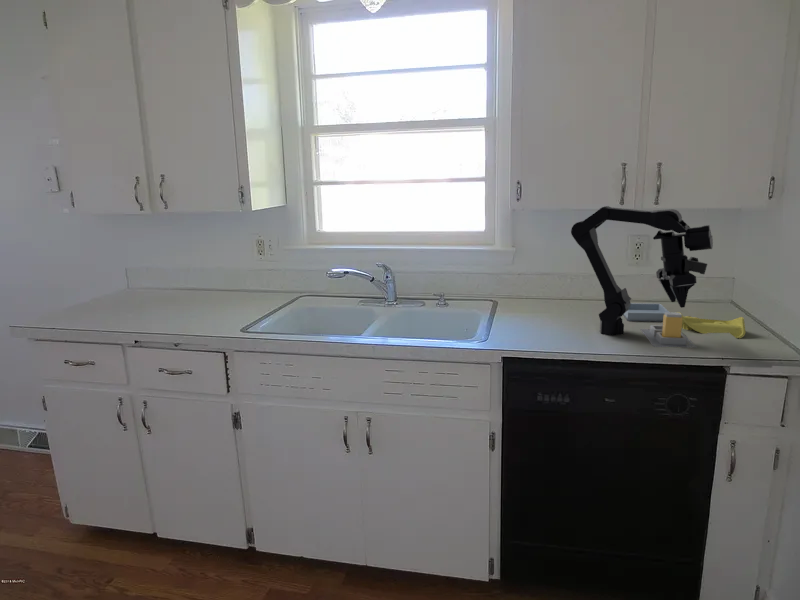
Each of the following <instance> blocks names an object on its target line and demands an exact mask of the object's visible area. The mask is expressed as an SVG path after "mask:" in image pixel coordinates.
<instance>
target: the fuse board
mask: <svg viewBox="0 0 800 600" xmlns="http://www.w3.org/2000/svg"><path fill="white" fill-rule="evenodd" d="M662 328H663V324H662V325H661V324H660V325H659V324H658V325H657V324H656V325H655V324H650V325H649V328H639V329H640V331H641V332H642V333H643V334H644V336H645V337H646V338H647V340H648V341H649V342H650V344H651V345H652V347H661V348H662V347H663V348H666V347H667V348H689V349H690V348H691V349H692V348H694V349H696V348H698V347H697V345H696V344H695V343H694V342H692V340H690V338H689V337H688V336H686V335H685V333H683V332H682V331H681V338H675V337H662Z"/></svg>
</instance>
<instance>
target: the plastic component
mask: <svg viewBox="0 0 800 600" xmlns="http://www.w3.org/2000/svg"><path fill="white" fill-rule="evenodd" d="M676 313H680V314H681V315H682V329H683V330H687V331H695V332H697V333H700V334H703V335H704V334H706V335H707V334H711V333H712V334H730V335H731V336H732V337H734V338H735V339H737V338H739V339H742V338H743V337H745V335H746V324H745V318H744V316H740V317H737V318H734V319H731V320H723V319H722V320H721V319H710V318H709V319H708V318H699V317H694V316H690V315H688V316H686V315H685V316H684V315H683V314H682V313H681V312H680V311H676Z"/></svg>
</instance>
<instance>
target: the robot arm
mask: <svg viewBox="0 0 800 600" xmlns="http://www.w3.org/2000/svg"><path fill="white" fill-rule="evenodd" d="M607 221H613V222H615V221H616V222H622V223H623V222H625V223H633V224H641V225H643V224H644V225H646V226H650V227H652V228H654V229H659V230H658V231H657V233H656V234H655V235H654V236H653V237H652V239H653V240H660V243H661V254H662V256H660V261H662V263H663V264H662V265H663V268H662V267H661V268H659V269H657V271H656V273H655V274H656V279H658V282H659V283H660V285H661V287H662V289H663V290H664V292H665V294H666V295H667V297H668V298H669V300H670V302H671V303H675V302H677V303H678V305H679V307H680V308H685V307H686V303H687V298H688V293H689V290H690V289H691V288H692V287H695V285H696V284H697V276H696V275H695V274H693V273H697V274H698V273H699V274H700V275H705V273H706V270H707V266H708V263H705V262H702V261H699V259H698V257H695V256H690V257H689V258H688V256H687V255H686V254H685V251H684V247H685V249H689V251H690V252H694V251H704V250H705V251H706V250H713V246H714V245H713V243H714V241H713V240H714V239H713V235H712V230H711V226H710V224H707V225H703V226H697V227H696V226H695V227H691V226H689V225H688V223H687V222H686V221H684V220H683V217H682V214H681V213H680V211H679V210H677V209H674V208H671V209H670V208H669V209H657V210H643V209H631V208H620V207H611V206H609V205H607V206H601V207H599V208H598V210H597V211H595V212H594V213H593V214H591V215H589V216H588V217H586V218H585V219H584V220H581V221H578V222H575V223H574V224H573V226H572V227H571V229H570V234H571V237H573V239H574V240H575V242H576V243H577V244H578V246H579V247H580V248H581V249H582V250H583V251H584V252H585V254H586V257H587V259H588V261H589V263H590V265H591V267H592V269H593V271H594V274H595V276H596V278H597V280H598V282H599V284H600V286H601V289H602V291H603V299H604V304H605V309H603V310H602V311H601V312H599V313H598V316H599V317H598V318H599V333H600V334H601V335H604V336H605V335H606V336H620V335H624V333H625V332H624V331H625V329H624V328H625V323H624V322H623V318H622V317H623V314H624V313H625V312H627V311H628V310H629V308H630V306H631V303H632V302H631V300H632V298H631V297H630V295H629V294H628V290H627V288H626V287H624V288H623V289H622V288H620V286H618V284H617V282H616V280H615V278H614V276H613V273H612V271H611V269H610V266H609V265H608V262H607V261H606V257H604V254H603V251H602V250H601V248H600V246H599V237H598V233H597V229H598V228H599V227H601V225H603V224H604V223H605V222H607ZM662 230H663V231H666V232H663V231H662ZM691 272H693V273H691Z"/></svg>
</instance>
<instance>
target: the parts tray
mask: <svg viewBox="0 0 800 600" xmlns="http://www.w3.org/2000/svg"><path fill="white" fill-rule="evenodd" d="M630 303H631V306H630V308H629V310H628V311H627V312H625V313H624V314H623V315H622V317H624V319H625V320H626V321H627V322H658V323H659V322H662V323H663V316H664V315H665V312H670V311H669V310H668V309H667V308H666V307H664V305H663V304H661V303H643V302H642V303H636V302H630Z"/></svg>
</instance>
